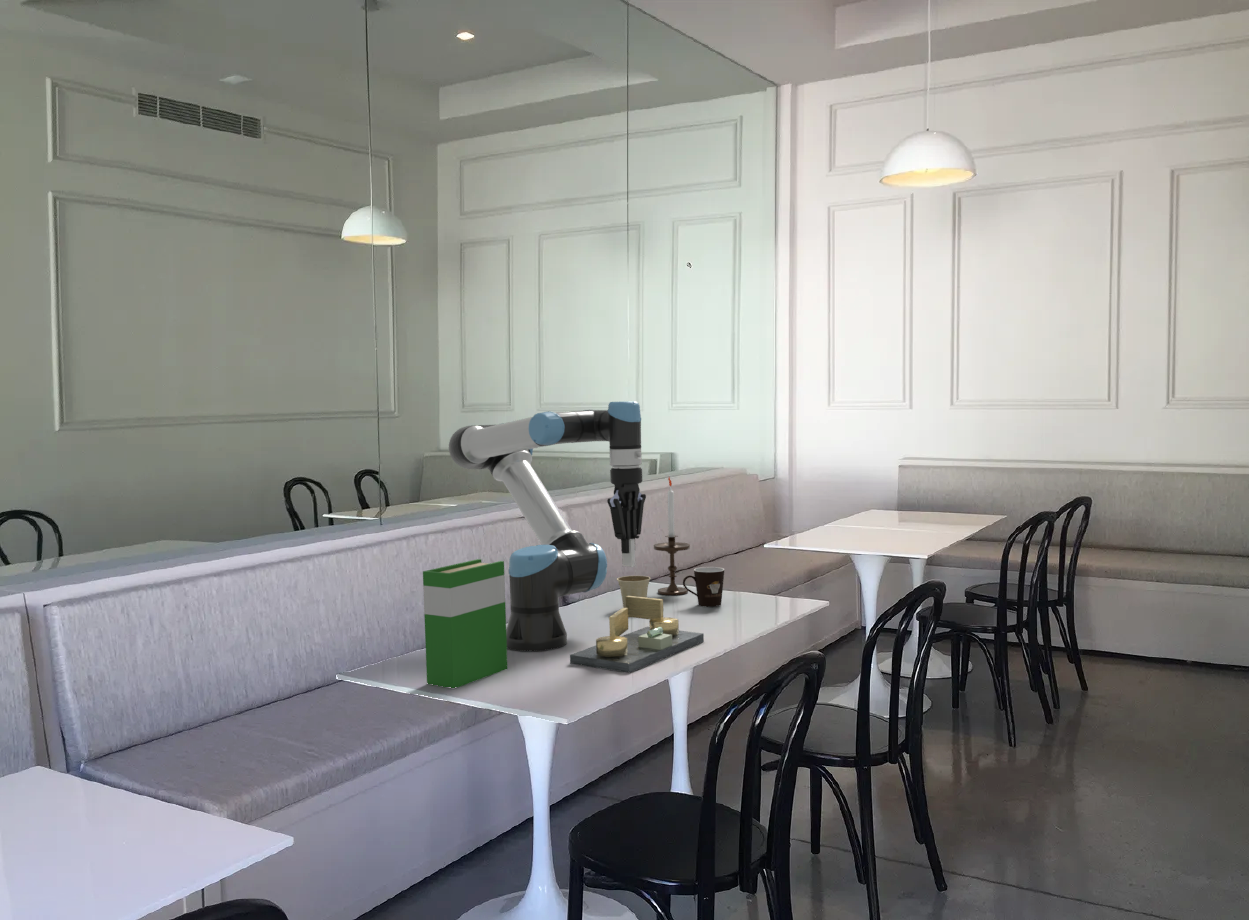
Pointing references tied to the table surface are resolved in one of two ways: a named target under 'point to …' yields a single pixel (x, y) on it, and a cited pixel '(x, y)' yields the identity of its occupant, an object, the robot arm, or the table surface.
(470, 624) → the hardback book
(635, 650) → the level plate
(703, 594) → the coffee mug
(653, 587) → the table surface
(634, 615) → the far knob
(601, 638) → the near knob
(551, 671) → the table surface
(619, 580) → the flower pot
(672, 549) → the candlestick
